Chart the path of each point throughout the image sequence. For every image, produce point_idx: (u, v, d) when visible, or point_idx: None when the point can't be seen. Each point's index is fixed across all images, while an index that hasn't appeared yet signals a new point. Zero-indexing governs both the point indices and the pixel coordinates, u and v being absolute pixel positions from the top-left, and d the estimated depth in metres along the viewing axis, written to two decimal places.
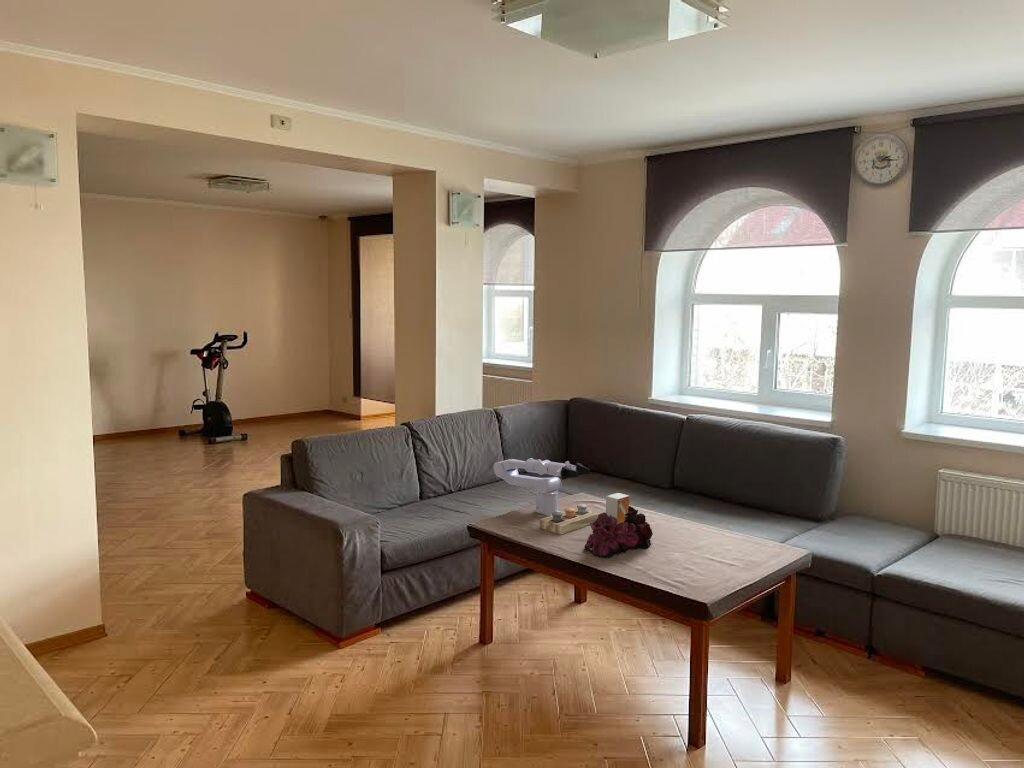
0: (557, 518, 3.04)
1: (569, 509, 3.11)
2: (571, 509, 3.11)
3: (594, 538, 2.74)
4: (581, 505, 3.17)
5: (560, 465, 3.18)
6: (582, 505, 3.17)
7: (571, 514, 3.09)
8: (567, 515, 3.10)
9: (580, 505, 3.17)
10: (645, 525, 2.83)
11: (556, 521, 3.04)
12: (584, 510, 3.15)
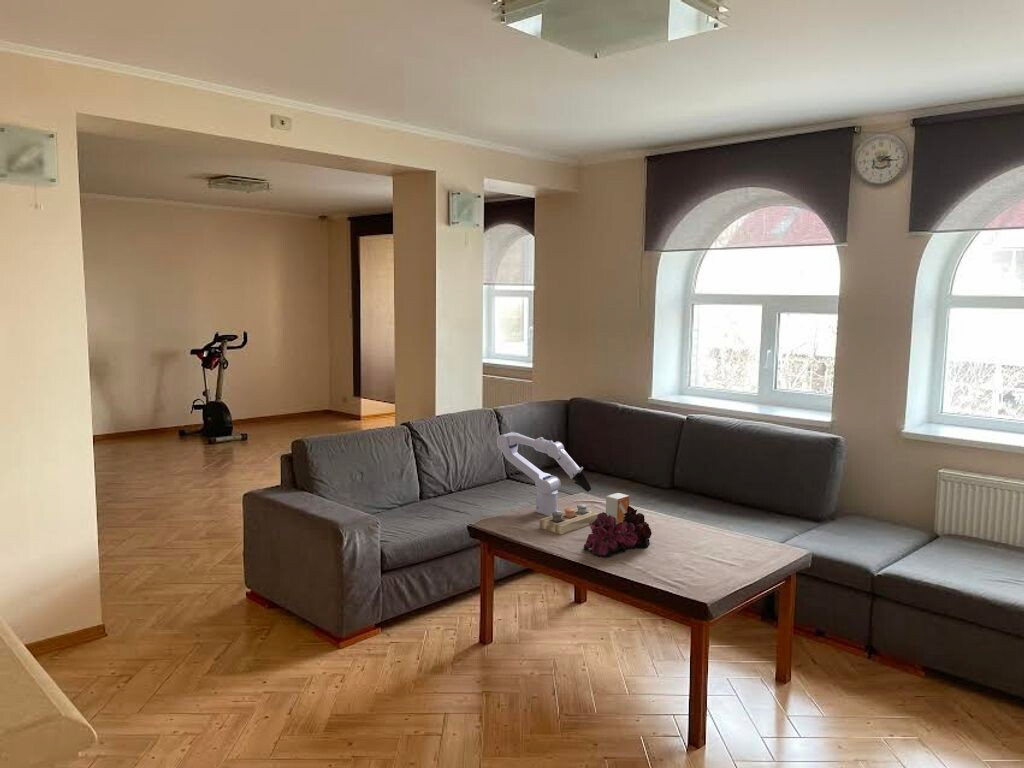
0: (557, 518, 3.04)
1: (569, 509, 3.11)
2: (571, 509, 3.11)
3: (593, 538, 2.74)
4: (581, 505, 3.17)
5: (575, 464, 3.17)
6: (582, 505, 3.17)
7: (571, 514, 3.09)
8: (567, 515, 3.10)
9: (580, 505, 3.17)
10: (644, 525, 2.84)
11: (556, 521, 3.04)
12: (584, 510, 3.15)
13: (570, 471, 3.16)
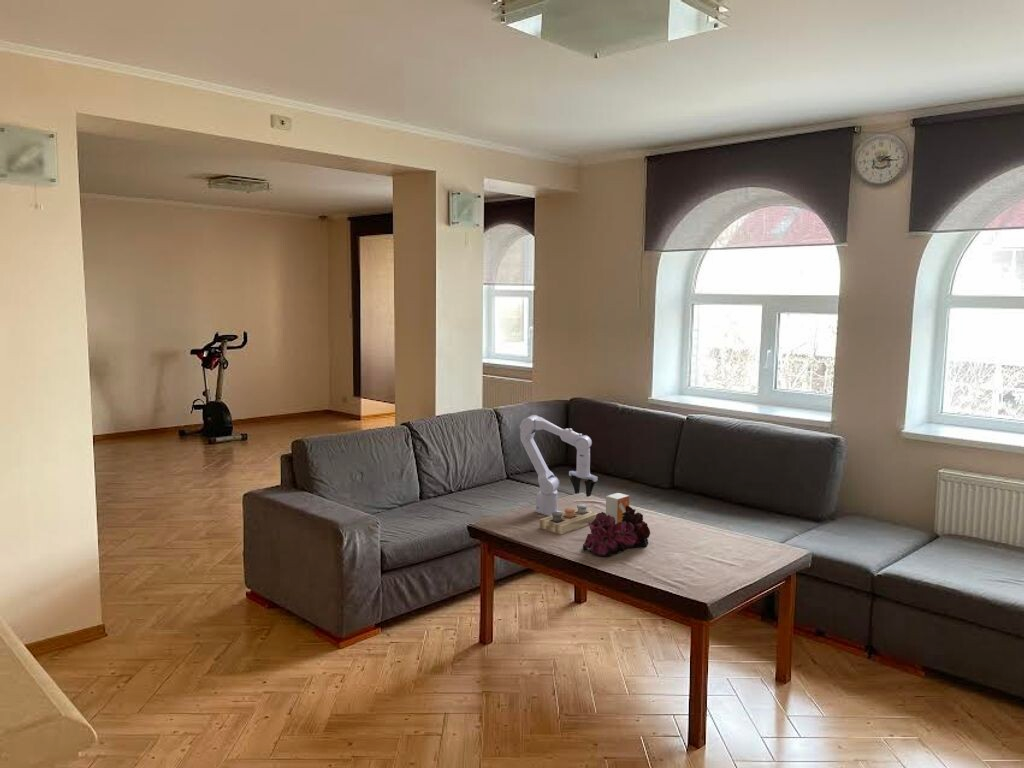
0: (557, 518, 3.04)
1: (569, 509, 3.11)
2: (571, 509, 3.11)
3: (593, 538, 2.74)
4: (581, 505, 3.17)
5: None
6: (582, 505, 3.17)
7: (571, 514, 3.09)
8: (567, 515, 3.10)
9: (580, 505, 3.17)
10: (643, 524, 2.85)
11: (556, 521, 3.04)
12: (584, 510, 3.15)
13: (585, 472, 3.17)
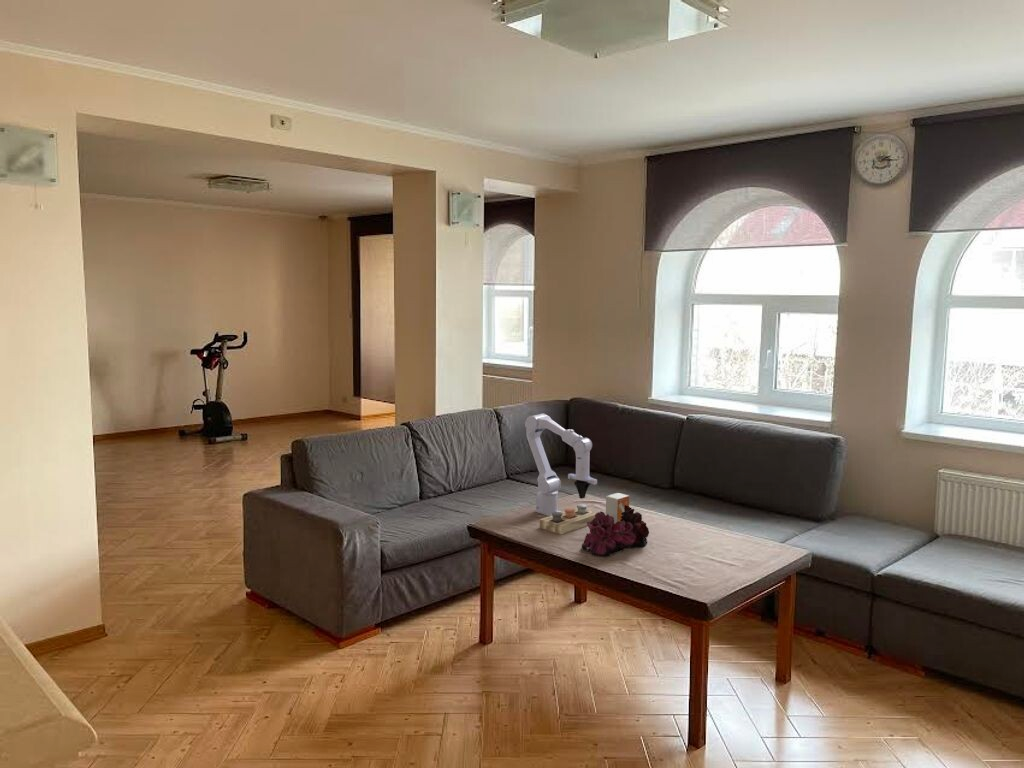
0: (557, 518, 3.04)
1: (569, 509, 3.11)
2: (571, 509, 3.11)
3: (592, 537, 2.75)
4: (581, 505, 3.17)
5: None
6: (582, 505, 3.17)
7: (571, 514, 3.09)
8: (567, 515, 3.10)
9: (580, 505, 3.17)
10: (642, 524, 2.85)
11: (556, 521, 3.04)
12: (584, 510, 3.15)
13: (585, 475, 3.12)
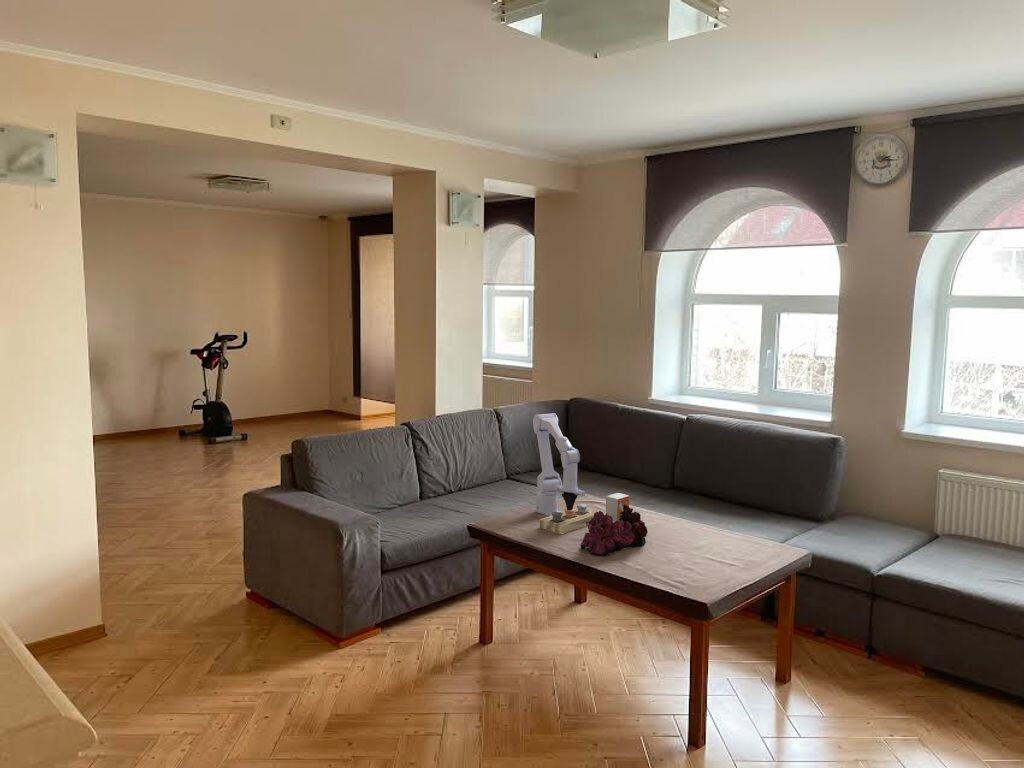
0: (557, 518, 3.04)
1: None
2: None
3: (590, 537, 2.75)
4: (581, 505, 3.17)
5: None
6: (582, 505, 3.17)
7: (571, 514, 3.09)
8: (567, 515, 3.10)
9: (580, 505, 3.17)
10: (640, 523, 2.86)
11: (556, 521, 3.04)
12: (584, 510, 3.15)
13: (572, 487, 3.07)
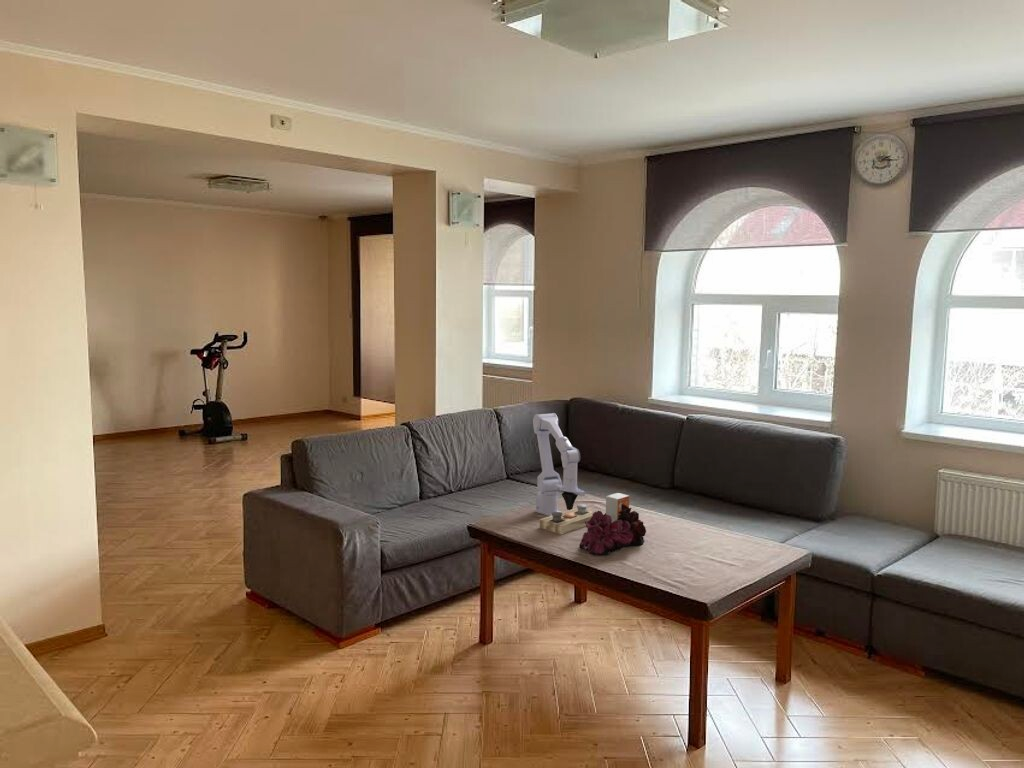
0: (557, 518, 3.04)
1: (569, 514, 3.11)
2: (571, 514, 3.11)
3: (590, 536, 2.76)
4: (581, 505, 3.17)
5: None
6: (582, 505, 3.17)
7: None
8: None
9: (580, 505, 3.17)
10: (639, 523, 2.86)
11: (556, 521, 3.04)
12: (584, 510, 3.15)
13: (572, 486, 3.07)
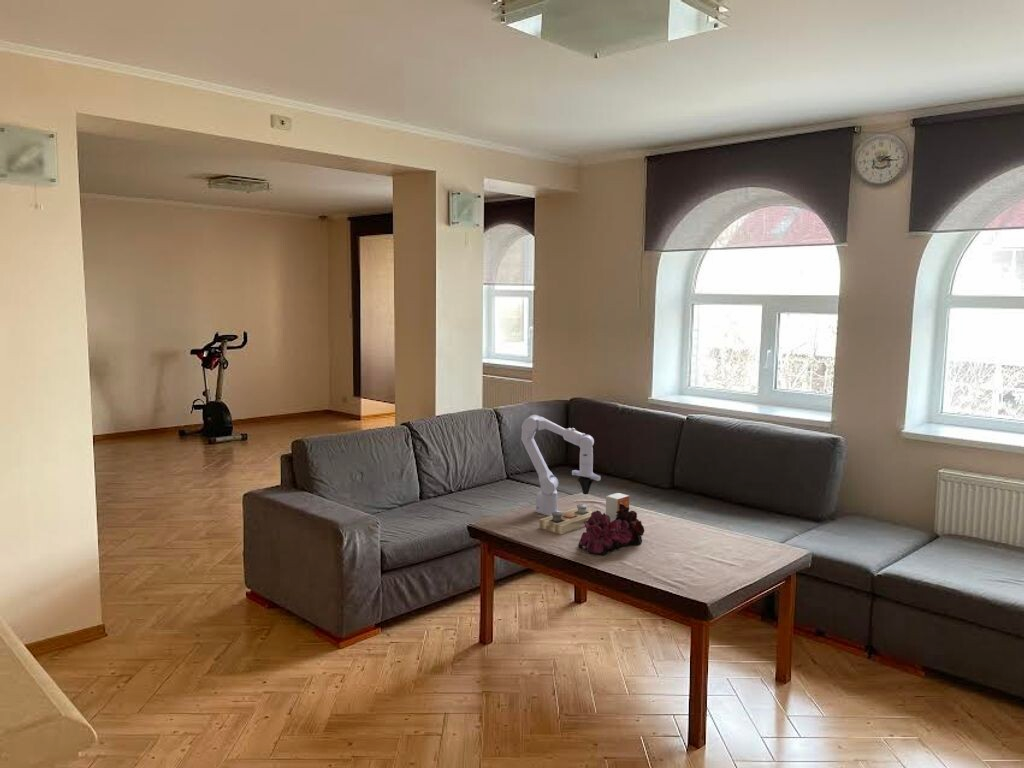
0: (557, 518, 3.04)
1: (569, 514, 3.11)
2: (571, 514, 3.11)
3: (589, 536, 2.76)
4: (581, 505, 3.17)
5: None
6: (582, 505, 3.17)
7: None
8: None
9: (580, 505, 3.17)
10: (637, 522, 2.87)
11: (556, 521, 3.04)
12: (584, 510, 3.15)
13: (588, 471, 3.18)
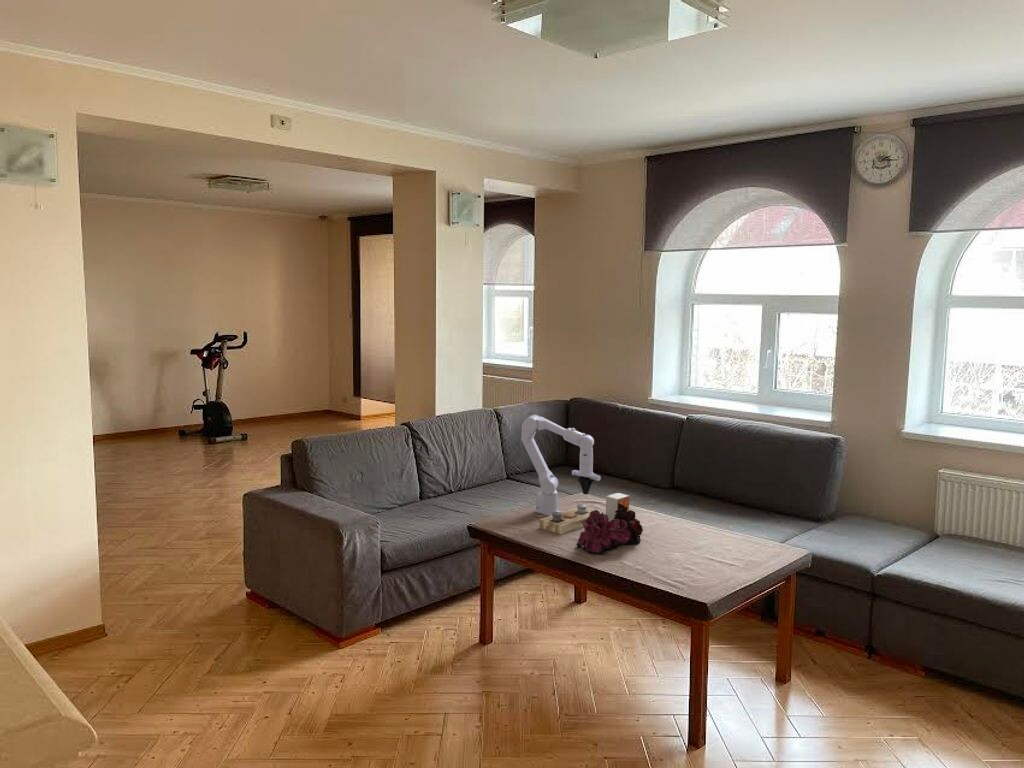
0: (557, 518, 3.04)
1: (569, 514, 3.11)
2: (571, 514, 3.11)
3: (587, 535, 2.77)
4: (581, 505, 3.17)
5: None
6: (582, 505, 3.17)
7: None
8: None
9: (580, 505, 3.17)
10: (635, 521, 2.88)
11: (556, 521, 3.04)
12: (584, 510, 3.15)
13: (588, 471, 3.18)
